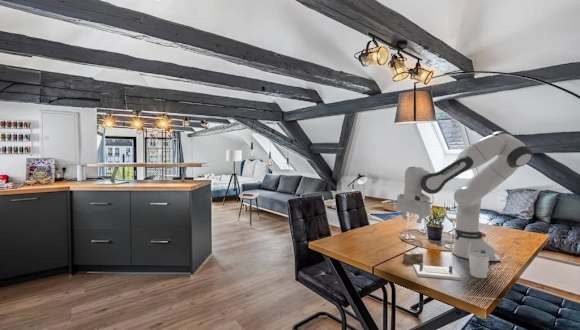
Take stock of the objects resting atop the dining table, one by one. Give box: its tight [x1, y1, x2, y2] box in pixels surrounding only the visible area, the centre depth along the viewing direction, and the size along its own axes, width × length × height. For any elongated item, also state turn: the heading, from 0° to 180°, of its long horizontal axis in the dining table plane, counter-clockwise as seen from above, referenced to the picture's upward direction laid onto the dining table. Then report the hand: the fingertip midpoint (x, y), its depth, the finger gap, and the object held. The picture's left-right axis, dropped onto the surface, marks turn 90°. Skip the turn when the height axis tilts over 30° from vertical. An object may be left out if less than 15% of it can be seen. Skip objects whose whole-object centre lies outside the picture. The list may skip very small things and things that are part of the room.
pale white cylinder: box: [468, 252, 490, 279], centre depth 137 cm, size 8×8×10 cm
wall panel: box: [412, 262, 462, 281], centre depth 139 cm, size 18×12×4 cm, turn 77°
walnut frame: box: [402, 251, 424, 265], centre depth 154 cm, size 9×4×5 cm, turn 102°
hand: (411, 221), depth 158 cm, fingers open, 8 cm apart
